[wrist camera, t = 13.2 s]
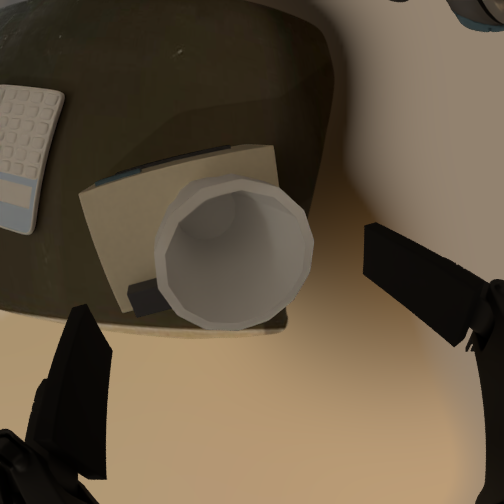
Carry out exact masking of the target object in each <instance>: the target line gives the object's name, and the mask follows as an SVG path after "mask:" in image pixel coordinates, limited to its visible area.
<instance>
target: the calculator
mask: <svg viewBox="0 0 504 504" xmlns="http://www.w3.org/2000/svg"><path fill="white" fill-rule="evenodd" d="M64 99H65V96H64V94H63V93H62V92H60V91H56V90H50V89H43V88H35V87H26V86H16V85H0V227H1V228H4V229H7V230H11V231H14V232H17V233H20V234H24V235H29V234H32V233H33V231H34V229H35V225H36V219H37V211H38V204H39V197H40V191H41V186H42V180H43V175H44V171H45V166H46V162H47V157H48V153H49V149H50V146H51V142H52V138H53V135H54V131H55V128H56V125H57V122H58V119H59V115H60V112H61V110H62V107H63V103H64Z"/></svg>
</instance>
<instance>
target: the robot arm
mask: <svg viewBox="0 0 504 504" xmlns="http://www.w3.org/2000/svg"><path fill="white" fill-rule="evenodd" d="M446 1H447V2H448V4H449V6H450V8H451V10H452V11H453V12H454V13H455V15H456V17H457V18H458V20H459V21H460V23H461V24H462V25H464V26H465V27H467V28H469V29H471V30H475V31H482V32H489V31H492V32H499V31H504V0H446ZM364 227H365V229H364V230H365V231H364V265H363V274H364V275H365V276H366V277H367V278H369V279H370V280H371V281H373V282H374V283H375V284H377V285H378V286H379V287H381V288H382V289H383V290H384V291H386V292H387V293H388V294H390V295H391V296H392V297H393V298H395V299H396V300H397V301H398V302H400V303H401V304H402V305H404V306H405V307H406V308H407V309H409V310H410V311H411V312H412V313H413V314H415V315H416V316H417V317H418V318H420V319H421V320H422V321H423V322H425V323H426V324H427V325H428V326H429V327H431V328H432V329H433V330H434V331H435V332H437V333H438V334H439V335H440V336H441V337H443V338H444V339H445V340H446V341H447V342H449V343H450V344H451V345H452V346H453V347H455V346H456V345H458V344H459V343H460V342H461V341H462V340H463V339H464V338H465V336H466V334H467V331H468V329H469V327H470V328H471V329H472V330H473V332H472V334H471V337H470V339H469V341H468V343H467V346H466V352H467V351H468V349H469V347H470V345H471V344H473V346H472V348H471V351H474V352H475V356H476V361H477V366H478V371H479V377H480V384H481V390H482V398H483V406H484V417H485V433H486V474H485V484H484V487H483V489H482V491H481V492H480V494H479V495H478V497H477V500H476V502H475V504H504V280H500V279H494V280H492V281H491V282H490V283H488V282H486V281H484V280H483V279H481V278H480V277H478V276H476V275H475V274H473V273H471V272H470V271H468V270H466V269H463V267H461V266H460V265H456V263H454V262H453V261H451V260H449V259H447V258H444V257H442V256H440V255H438V254H436V253H435V252H433V251H431V250H429V249H427V248H425V247H424V246H422V245H420V244H418V243H416V242H414V241H412V240H410V239H408V238H406V237H404V236H402V235H400V234H399V233H396V232H395V231H393V230H390V229H389V228H386V227H385V226H382V225H380V224H378V223H376V222H375V223H372V224H368V225H365V226H364ZM112 352H113V351H112V349H111V347H110V346H109V344H108V342H107V341H106V339H105V337H104V335H103V334H102V332H101V330H100V328H99V326H98V325H97V323H96V321H95V319H94V317H93V315H92V313H91V312H90V310H89V308H88V306H87V304H84V305H80V306H77V307H73V308H72V310H71V312H70V315H69V317H68V320H67V322H66V325H65V328H64V330H63V333H62V336H61V338H60V341H59V344H58V347H57V350H56V353H55V355H54V358H53V362H52V365H51V368H50V371H49V374H48V378H47V379H43V381H42V382H41V384H40V386H39V387H38V388H37V391H36V395H35V398H34V403H33V406H32V412H31V414H30V418H29V423H28V427H27V432H26V437H25V442H24V441H23V440H21V439H20V438H19V437H18V436H17V435H15V434H14V433H13V432H12V431H11V430H8V429H2V430H0V504H99V503H98V502H97V501H96V499H95V498H94V497H93V496H92V495H91V493H90V492H89V491H88V490H87V489H86V487H85V486H84V485H83V484H82V483H81V482H80V481H78V473H79V474H80V475H82V476H84V477H85V478H87V479H91V480H96V479H97V480H106V479H107V476H106V419H107V400H108V388H109V377H110V368H111V359H112Z"/></svg>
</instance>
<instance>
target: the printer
mask: <svg viewBox="0 0 504 504" xmlns="http://www.w3.org/2000/svg"><path fill="white" fill-rule="evenodd" d="M231 173H232V174H236V175H241V176H245V177H249V178H254V179H258V180H262V181H265V182H268V183H270V184H272V185H275V186H277V187H279V183H278V175H277V168H276V160H275V153H274V146H273V145H256V144H243V145H237V146H230V145H226V146H221V147H216V148H211V149H206V150H201V151H197V152H192V153H188V154H183V155H179V156H175V157H171V158H167V159H163V160H159V161H155V162H152V163H148V164H144V165H141V166H137V167H134V168H130V169H127V170H124V171H120V172H117V173H116V174H115V175H114V176H111V177H108V178H105V179H102V180H99V181H97V182H96V183H95V184H93V185H92V186H90V187H89V188H87V189H86V190H84V191H82V192H81V193H79V198H80V201H81V205H82V208H83V211H84V215H85V218H86V221H87V224H88V227H89V230H90V233H91V236H92V239H93V242H94V245H95V248H96V250H97V253H98V256H99V258H100V261H101V264H102V266H103V269H104V271H105V274H106V276H107V279H108V281H109V283H110V286H111V288H112V290H113V293H114V295H115V297H116V300H117V302H118V304H119V306H120V308H121V310H122V313H124V312H128V311H132V310H134V312H135V315H136V317H137V318H138V317H141V316H145V315H149V314H153V313H157V312H161V311H164V310H168V309H172V307H171V306H170V305H169V303H168V302H167V300H166V299H165V298H164V296H163V295H162V294H161V292H160V291H159V289H158V285H157V277H156V268H155V259H154V243H155V236H156V234H157V231H158V229H159V227H160V224H161V222H162V219H163V217H164V215H165V212H166V210H167V208H168V206H169V205H170V204H171V203H172V202H173V201H174V200H175V199H176V197H177V195H178V193H179V191H180V190H181V189H182V188H183V187H185V186H186V185H187V184H188V183H189V182H191V181H193V180H197V179H201V178H205V177H218V176H222V175H226V174H231Z"/></svg>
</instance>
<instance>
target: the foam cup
mask: <svg viewBox="0 0 504 504" xmlns="http://www.w3.org/2000/svg"><path fill="white" fill-rule="evenodd" d="M313 246H314V239H313V236H312V233H311V230H310V227H309V224H308V221H307V218H306V215H305V212H304V210H303V209H302V208H301V207H300V206H299V205H298V204H297V203H295V202H294V201H293V200H292V199H291V198H290V197H289V196H288V195H287V194H286V193H285V192H283V191H282V190H281V189H280V188H279V187H277V186H275V185H272V184H270V183H268V182H265V181H262V180H258V179H254V178H249V177H245V176H241V175H236V174H232V173H231V174H226V175H222V176H218V177H205V178H201V179H197V180H193V181H191V182H189V183H188V184H187V185H186V186H185V187H183V188H182V189H181V190H180V191H179V193H178V195H177V197H176V199H175V200H174V201H173V202H172V203H171V204H170V205H169V206H168V208H167V210H166V212H165V215H164V217H163V219H162V222H161V224H160V227H159V229H158V231H157V234H156V236H155V243H154V259H155V268H156V277H157V285H158V289H159V291H160V292H161V294H162V295H163V296H164V298H165V299H166V300H167V302H168V303H169V305H170V306H171V307H172V309H173V310H174V311H175V313H176V314H177V315H178V316H180V317H182V318H184V319H186V320H188V321H190V322H192V323H194V324H196V325H198V326H200V327H202V328H204V329H207V330H228V331H239V330H242V329H245V328H248V327H251V326H254V325H257V324H260V323H263V322H265V321H268V320H270V319H271V318H272V317H273V316H275V315H276V314H277V313H278V312H280V311H281V310H282V309H283V308H285V307H286V306H287V305H288V304H289V303H291V302H292V301H293V300H294V299H295V297H296V295H297V294H298V292H299V290H300V288H301V287H302V285H303V283H304V282H305V280H306V278H307V277H308V275H309V273H310V269H311V261H312V254H313Z"/></svg>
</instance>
